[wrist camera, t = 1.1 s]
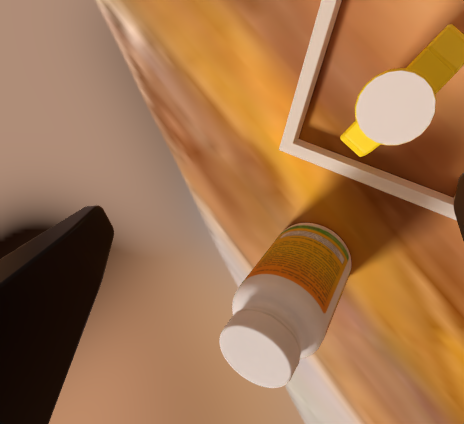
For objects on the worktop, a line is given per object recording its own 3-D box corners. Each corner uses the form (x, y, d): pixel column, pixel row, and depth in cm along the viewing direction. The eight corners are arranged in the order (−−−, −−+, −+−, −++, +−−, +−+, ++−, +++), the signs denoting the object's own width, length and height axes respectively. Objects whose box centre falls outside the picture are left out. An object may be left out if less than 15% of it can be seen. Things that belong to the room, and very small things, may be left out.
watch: (435, 15, 16) (439, 3, 11) (481, 55, 16) (506, 60, 11) (341, 116, 20) (314, 139, 15) (378, 150, 19) (363, 185, 15)
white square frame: (614, -13, 13) (624, -14, 12) (460, 213, 19) (460, 221, 18) (345, -61, 16) (339, -65, 15) (285, 145, 22) (278, 149, 21)
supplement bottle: (272, 218, 25) (196, 304, 18) (350, 222, 22) (298, 326, 15) (282, 281, 27) (218, 382, 20) (355, 291, 24) (312, 413, 17)
